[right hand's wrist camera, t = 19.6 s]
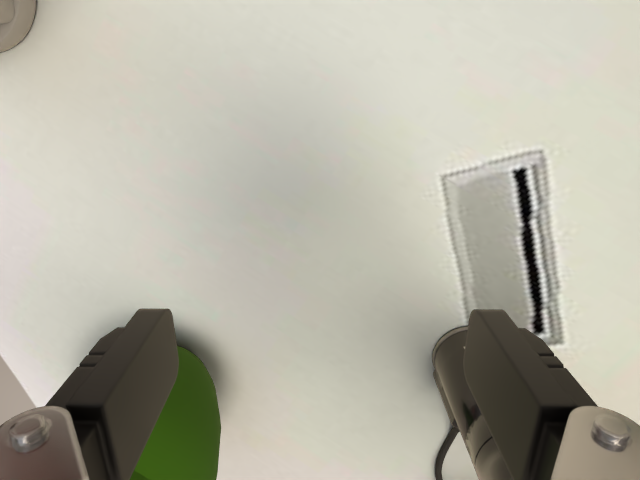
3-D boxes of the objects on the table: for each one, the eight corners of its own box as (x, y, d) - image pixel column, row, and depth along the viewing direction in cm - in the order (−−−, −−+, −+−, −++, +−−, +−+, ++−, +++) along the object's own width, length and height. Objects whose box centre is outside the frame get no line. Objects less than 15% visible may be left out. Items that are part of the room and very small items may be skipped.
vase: (156, 439, 64) (67, 639, 42) (72, 343, 58) (-88, 518, 35) (268, 391, 61) (237, 580, 38) (191, 284, 55) (100, 434, 32)
